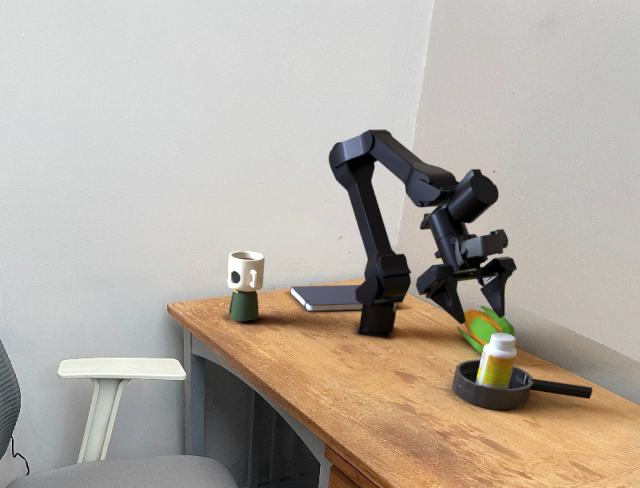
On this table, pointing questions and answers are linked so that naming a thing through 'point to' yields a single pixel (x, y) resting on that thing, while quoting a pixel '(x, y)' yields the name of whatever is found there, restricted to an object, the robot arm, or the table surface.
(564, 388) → the skillet handle
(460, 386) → the skillet
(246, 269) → the character mug
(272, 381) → the table surface
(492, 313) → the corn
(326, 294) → the notebook
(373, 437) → the table surface
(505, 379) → the supplement bottle
